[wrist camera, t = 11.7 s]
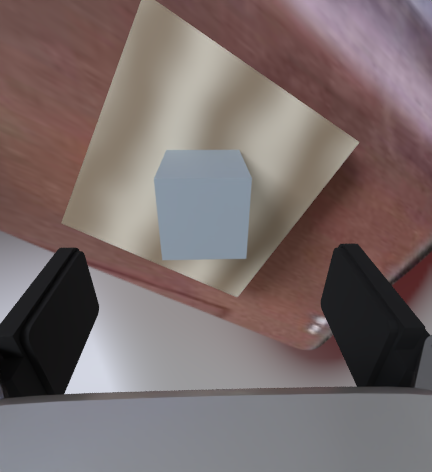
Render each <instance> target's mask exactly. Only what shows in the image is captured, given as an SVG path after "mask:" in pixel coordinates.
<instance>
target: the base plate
mask: <svg viewBox="0 0 432 472" xmlns="http://www.w3.org/2000/svg"><path fill="white" fill-rule="evenodd" d="M358 144H359V142H358V141H357V140H355V139H354V138H353V137H351V136H350V135H348V134H347V133H345V132H344V131H342V130H341V129H340V128H338V127H337V126H335V125H334V124H332V123H331V122H329V121H328V120H327V119H325V118H324V117H322V116H321V115H319V114H318V113H316V112H315V111H314V110H312V109H311V108H309V107H308V106H306V105H305V104H304V103H302V102H301V101H299V100H298V99H296V98H295V97H293V96H292V95H291V94H289V93H288V92H286V91H285V90H283V89H282V88H280V87H279V86H278V85H276V84H275V83H273V82H272V81H270V80H269V79H268V78H266V77H265V76H263V75H262V74H260V73H259V72H257V71H256V70H255V69H253V68H252V67H250V66H249V65H247V64H246V63H244V62H243V61H242V60H240V59H239V58H237V57H236V56H234V55H233V54H231V53H230V52H229V51H227V50H226V49H224V48H223V47H221V46H220V45H219V44H217V43H216V42H214V41H213V40H211V39H210V38H208V37H207V36H206V35H204V34H203V33H201V32H200V31H198V30H197V29H195V28H194V27H193V26H191V25H190V24H188V23H187V22H185V21H184V20H183V19H181V18H180V17H178V16H177V15H175V14H174V13H172V12H171V11H170V10H168V9H167V8H165V7H164V6H162V5H161V4H159V3H158V2H157V1H155V0H141V3H140V5H139V8H138V11H137V14H136V17H135V19H134V22H133V25H132V28H131V30H130V33H129V36H128V39H127V42H126V44H125V47H124V50H123V53H122V56H121V58H120V61H119V64H118V67H117V70H116V72H115V75H114V78H113V81H112V83H111V86H110V89H109V92H108V95H107V97H106V100H105V103H104V106H103V109H102V111H101V114H100V117H99V120H98V122H97V125H96V128H95V131H94V134H93V136H92V139H91V142H90V145H89V148H88V150H87V153H86V156H85V159H84V162H83V164H82V167H81V170H80V173H79V175H78V178H77V181H76V184H75V187H74V189H73V192H72V195H71V198H70V201H69V203H68V206H67V209H66V212H65V214H64V217H63V220H62V224H64V225H67V226H69V227H71V228H74V229H76V230H79V231H81V232H83V233H86V234H88V235H90V236H93V237H95V238H98V239H100V240H102V241H105V242H107V243H109V244H112V245H114V246H117V247H119V248H121V249H124V250H126V251H128V252H131V253H133V254H135V255H138V256H140V257H143V258H145V259H147V260H150V261H152V262H154V263H157V264H159V265H162V266H164V267H166V268H169V269H171V270H173V271H176V272H178V273H181V274H183V275H185V276H188V277H190V278H192V279H195V280H197V281H200V282H202V283H204V284H207V285H209V286H211V287H214V288H216V289H218V290H221V291H223V292H226V293H228V294H230V295H233V296H235V297H238V296H239V295H240V293H241V292H242V291H243V290H244V288H245V287H246V286H247V285H248V283H249V282H250V281H251V279H252V278H253V277H254V276H255V274H256V273H257V272H258V271H259V269H260V268H261V267H262V266H263V264H264V263H265V262H266V260H267V259H268V258H269V257H270V255H271V254H272V253H273V252H274V250H275V249H276V248H277V246H278V245H279V244H280V243H281V241H282V240H283V239H284V238H285V236H286V235H287V234H288V232H289V231H290V230H291V229H292V227H293V226H294V225H295V224H296V222H297V221H298V220H299V218H300V217H301V216H302V215H303V213H304V212H305V211H306V210H307V208H308V207H309V206H310V205H311V203H312V202H313V201H314V199H315V198H316V197H317V196H318V194H319V193H320V192H321V191H322V189H323V188H324V187H325V185H326V184H327V183H328V182H329V180H330V179H331V178H332V177H333V175H334V174H335V173H336V171H337V170H338V169H339V168H340V166H341V165H342V164H343V163H344V161H345V160H346V159H347V158H348V156H349V155H350V154H351V152H352V151H353V150H354V149H355V147H356V146H357V145H358ZM166 150H240V153H241V155H242V157H243V159H244V162H245V164H246V166H247V168H248V171H249V173H250V175H251V177H252V184H251V198H250V212H249V227H248V241H247V255H246V259H203V260H162V253H161V243H160V234H159V224H158V214H157V205H156V195H155V186H154V177H155V175H156V173H157V170H158V168H159V166H160V164H161V161H162V159H163V157H164V154H165V152H166Z"/></svg>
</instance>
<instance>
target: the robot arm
mask: <svg viewBox="0 0 432 472" xmlns="http://www.w3.org/2000/svg"><path fill="white" fill-rule="evenodd" d="M321 308H322V311H323V313H324V315H325V318H326V320H327V322H328V324H329V326H330V328H331V331H332V333H333V335H334V337H335V339H336V342H337V344H338V346H339V348H340V350H341V352H342V355H343V357H344V359H345V361H346V363H347V366H348V368H349V370H350V372H351V374H352V376H353V379H354V381H355V383H356V385H357V387H305V388H260V389H259V388H257V389H216V390H182V391H180V390H179V391H145V392H113V393H84V394H64V393H65V390H66V388H67V386H68V384H69V381H70V379H71V376H72V374H73V372H74V369H75V367H76V365H77V362H78V360H79V358H80V355H81V353H82V351H83V348H84V346H85V344H86V341H87V339H88V337H89V334H90V331H91V329H92V327H93V325H94V322H95V320H96V318H97V315H98V312H99V304H98V300H97V297H96V293H95V290H94V286H93V283H92V279H91V276H90V272H89V269H88V265H87V262H86V258H85V255H84V253H83V252H82V251H79V249H78V248H59V249H58V250H57V252H56V253H55V254H54V256H53V257H52V258H51V259H50V261H49V262H48V263H47V264H46V266H45V267H44V268H43V270H42V271H41V272H40V273H39V275H38V276H37V278H36V279H35V280H34V281H33V282H32V284H31V285H30V286H29V288H28V289H27V290H26V292H25V293H24V294H23V296H22V297H21V298H20V299H19V301H18V302H17V303H16V304H15V306H14V307H13V308H12V310H11V311H10V312H9V313H8V315H7V316H6V317H5V319H4V320H3V321H2V323H1V324H0V472H432V335H431V336H430V334H429V333H428V332H427V331H426V329H425V326H424V325H423V324H422V322H421V321H420V320H419V319H418V317H417V316H416V315H415V314H414V313H413V311H412V310H411V309H410V308H409V306H408V305H407V304H406V303H405V301H404V300H403V299H402V298H401V297H400V295H399V294H398V293H397V292H396V291H395V289H394V288H393V287H392V285H391V284H390V283H389V282H388V281H387V279H386V278H385V277H384V276H383V274H382V273H381V272H380V271H379V269H378V268H377V267H376V266H375V265H374V263H373V262H372V261H371V260H370V258H369V257H368V256H367V255H366V254H365V252H364V251H363V250H362V249H361V247H360V246H359V245H358V244H340V245H339V247H338V248H335V249H334V251H333V255H332V259H331V263H330V267H329V271H328V275H327V279H326V283H325V287H324V290H323V294H322V298H321Z"/></svg>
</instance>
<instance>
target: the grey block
mask: <svg viewBox="0 0 432 472" xmlns="http://www.w3.org/2000/svg"><path fill="white" fill-rule="evenodd" d="M251 184H252V177H251V175H250V173H249V171H248V168H247V166H246V164H245V162H244V159H243V157H242V155H241V153H240V150H166V152H165V154H164V157H163V159H162V161H161V164H160V166H159V168H158V170H157V173H156V175H155V177H154V186H155V195H156V205H157V214H158V224H159V234H160V243H161V253H162V260H203V259H246V255H247V241H248V227H249V212H250V198H251Z"/></svg>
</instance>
